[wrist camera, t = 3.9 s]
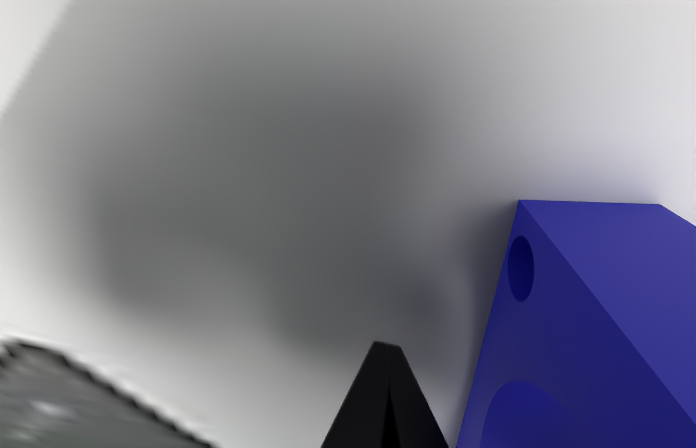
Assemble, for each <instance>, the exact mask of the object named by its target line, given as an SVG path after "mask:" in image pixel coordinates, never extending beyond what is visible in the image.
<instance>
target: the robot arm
mask: <svg viewBox="0 0 696 448" xmlns="http://www.w3.org/2000/svg"><path fill="white" fill-rule="evenodd" d="M321 448H449V447H448V445H447V443H446V441H445V439H444V436H443V434H442V432H441V430H440V428H439V426H438V424H437V422H436V420H435V418H434V416H433V414H432V411H431V409H430V407H429V405H428V403H427V401H426V399H425V397H424V395H423V393H422V391H421V389H420V386H419V384H418V382H417V380H416V378H415V376H414V374H413V372H412V370H411V368H410V366H409V364H408V361H407V359H406V357H405V355H404V353H403V351H402V349H401V347H400V346H398V345H393V344H389V343H385V342H381V341H376V340H375V341H373V343H372V345H371V347H370V349H369V351H368V353H367V355H366V357H365V359H364V361H363V363H362V365H361V367H360V369H359V371H358V373H357V375H356V377H355V379H354V381H353V383H352V385H351V387H350V389H349V391H348V393H347V395H346V397H345V399H344V401H343V403H342V405H341V407H340V409H339V411H338V413H337V415H336V417H335V419H334V421H333V423H332V425H331V427H330V429H329V431H328V433H327V435H326V437H325V439H324V441H323V443H322V445H321Z"/></svg>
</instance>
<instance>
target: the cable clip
mask: <svg viewBox="0 0 696 448" xmlns="http://www.w3.org/2000/svg"><path fill="white" fill-rule="evenodd" d="M456 448H696V226H694V225H693V224H691V223H689V222H688V221H686V220H684V219H683V218H681V217H680V216H678V215H676V214H675V213H673V212H671V211H670V210H668V209H667V208H665V207H663V206H662V205H660V204H632V203H603V202H574V201H545V200H519V202H518V206H517V210H516V214H515V218H514V222H513V226H512V230H511V234H510V238H509V242H508V246H507V250H506V253H505V257H504V261H503V265H502V269H501V273H500V277H499V281H498V285H497V289H496V293H495V297H494V300H493V304H492V308H491V312H490V316H489V320H488V324H487V328H486V332H485V336H484V340H483V344H482V347H481V351H480V355H479V359H478V363H477V367H476V371H475V375H474V379H473V383H472V387H471V391H470V394H469V398H468V402H467V406H466V410H465V414H464V418H463V422H462V426H461V430H460V434H459V438H458V442H457V445H456Z"/></svg>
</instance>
